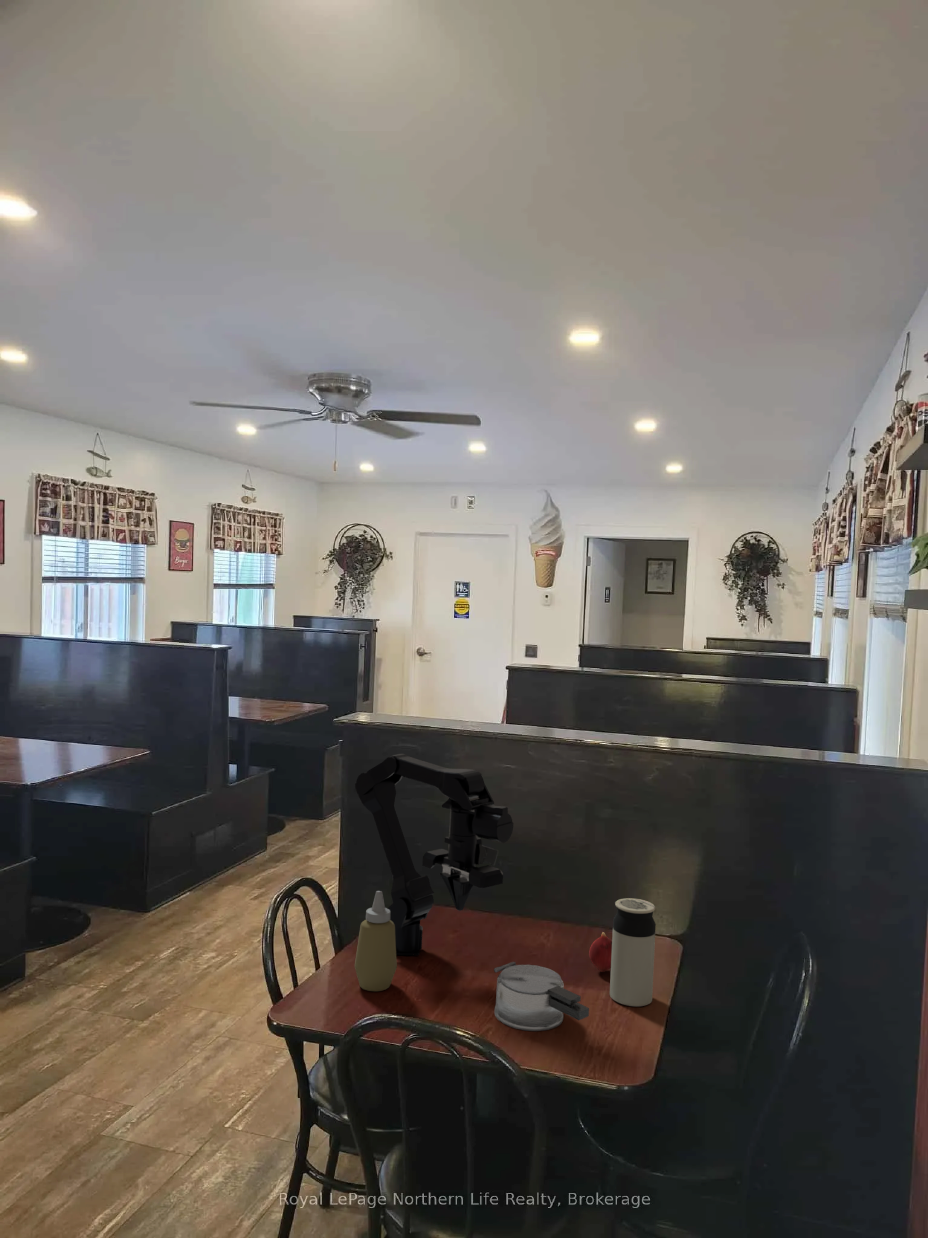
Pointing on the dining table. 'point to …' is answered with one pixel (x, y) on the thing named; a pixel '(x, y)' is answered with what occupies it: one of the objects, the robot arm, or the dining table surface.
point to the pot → (533, 1009)
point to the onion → (601, 953)
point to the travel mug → (632, 952)
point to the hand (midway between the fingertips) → (459, 910)
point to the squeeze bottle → (376, 948)
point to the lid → (535, 981)
